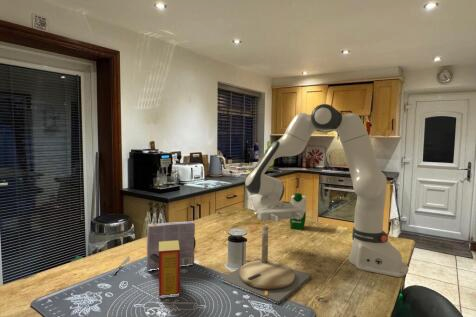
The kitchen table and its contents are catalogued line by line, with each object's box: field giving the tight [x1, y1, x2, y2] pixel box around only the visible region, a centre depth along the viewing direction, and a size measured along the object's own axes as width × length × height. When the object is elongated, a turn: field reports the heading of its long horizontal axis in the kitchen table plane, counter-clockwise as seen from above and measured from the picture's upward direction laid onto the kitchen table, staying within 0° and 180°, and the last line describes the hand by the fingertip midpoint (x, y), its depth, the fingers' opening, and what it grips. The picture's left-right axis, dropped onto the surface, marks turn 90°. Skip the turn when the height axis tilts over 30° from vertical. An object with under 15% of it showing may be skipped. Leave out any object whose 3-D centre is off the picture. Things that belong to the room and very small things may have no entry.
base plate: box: [220, 257, 312, 303], centre depth 114 cm, size 24×24×1 cm
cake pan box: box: [146, 220, 197, 271], centre depth 123 cm, size 19×5×18 cm, turn 111°
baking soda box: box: [158, 240, 181, 296], centre depth 104 cm, size 10×6×16 cm
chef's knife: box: [117, 256, 131, 269], centre depth 125 cm, size 19×1×3 cm
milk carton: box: [289, 192, 307, 231], centre depth 177 cm, size 9×9×20 cm
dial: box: [240, 225, 295, 289], centre depth 113 cm, size 20×20×16 cm
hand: (289, 218), depth 124 cm, fingers open, 8 cm apart
